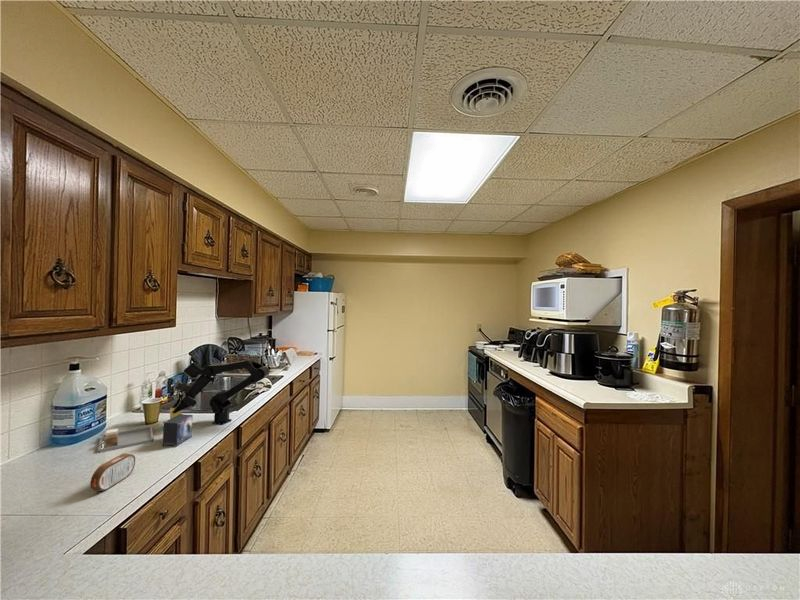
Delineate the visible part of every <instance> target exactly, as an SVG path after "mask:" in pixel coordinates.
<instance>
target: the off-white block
mask: <svg viewBox="0 0 800 600" xmlns="http://www.w3.org/2000/svg"><path fill="white" fill-rule="evenodd" d="M118 432H119V428H113V429H107V430H106V432H105V434H106V436H107V435H112V434H118Z"/></svg>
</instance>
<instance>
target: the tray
mask: <svg viewBox="0 0 800 600" xmlns="http://www.w3.org/2000/svg"><path fill="white" fill-rule="evenodd" d="M105 439H106V433H104V434H101V435H100V439H99V443H98V449H97V454H101V452H102V453H106V452H111V451H115V450H116V451H117V450H121V449H125V448H131V447H136V446H140V445H145V444H150V443H154V442H155V440H154V432H153V426H152V425H150V426H145V427H138V428H134V429H133V428H132V429H128V430H122V431H118V445H117V446H113V447H108V448H105ZM103 441H104V442H103ZM102 442H103V443H102ZM102 444H104V448H103V449H101V448H102Z"/></svg>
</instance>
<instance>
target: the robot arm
mask: <svg viewBox="0 0 800 600" xmlns="http://www.w3.org/2000/svg"><path fill="white" fill-rule="evenodd" d="M242 369H246V370H247V372H248V373H249V374H250V375H249V376H248V377H246V378H245V379H244V380H242V381H241V382H239V383H238V384H236V385H234V386H233V387H231V388H229V390H226V389H223V390H221V391H219V392H217V393H216V394H214V395H213V396H212V395H211V398H210V400H209V406H210V407H211V408H210V409H211V410H212V413H214V415H213V417H214V418H213V420H214V421H212V422H211V424H215V425H221V426H222V425H225V424H228V423H229V422H231V421H232V419H231V418H230V409H231V408H232V405H233V403H232V402H231V399H232V398H233V397H234V396H235V395H238V394H239V393H240V392H242V391H243V390H244V389H246V388H247V387H249V386H251V385H252V384H255V383H257V382H260V381H262V380H263V379H266V378H267V377H268V376H269V375H270V374H271V373H270V369H269V367H267V366H266V365H265V366H264V365H263V364H261V363H258V362H256V361H254V360H253V359H251V358H248V359H245V360H240V361H233V362H228V363H221V362H220V363H212V364H209V365H207V366H205V367H203V368H202V367H201V366H200V365H199V364H198V363H197V362H195V361H194V362H191V363H190V364H189V365H188V366H186V367H185V369H183V373H184V374H185V375H186V376H187V377H189V378H190V379H192V380H194V379H195V381H194V382H190V383H186V382H183V381H179V380H177V381H176V383H175V385H174V387H173V388H174V389H175V390H177V391H178V393H177V394H178V395H177V396H178V397H177V399H176V401H175V402H174V404H173V405H172V406H171V408H175V407H176V408H175V409H174V411H173V413H176V412H179V411H181V410H182V411H183V410H185V409H188V408H190V407H192V408H194V407H195V406H196V405H197V400H196V399H197V396H198V395H199V394H200V393H201V394H202V393H203V392H204V391H203V390H204V389H206V387H207V386H208V385H209V384H210V383H212V384H216V377H214V376H217V375H220V374H223V373H226V372H231V371H237V370H242Z"/></svg>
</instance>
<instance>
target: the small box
mask: <svg viewBox="0 0 800 600" xmlns="http://www.w3.org/2000/svg"><path fill="white" fill-rule="evenodd" d="M193 416H194V415H193V414H186V413H185V414H184V413H182V414H179V415H177V416H175V417H173V418H171V419H170V418H169V419H167V420H165V421H163V425H162V426H163V431H162V432H163V433H162V448H163V447H169V448H177V447H179V446H180V445H181V444H183V443H185V442H187V441H188V440H189V439H192V437H193V425H192V423H193Z"/></svg>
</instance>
